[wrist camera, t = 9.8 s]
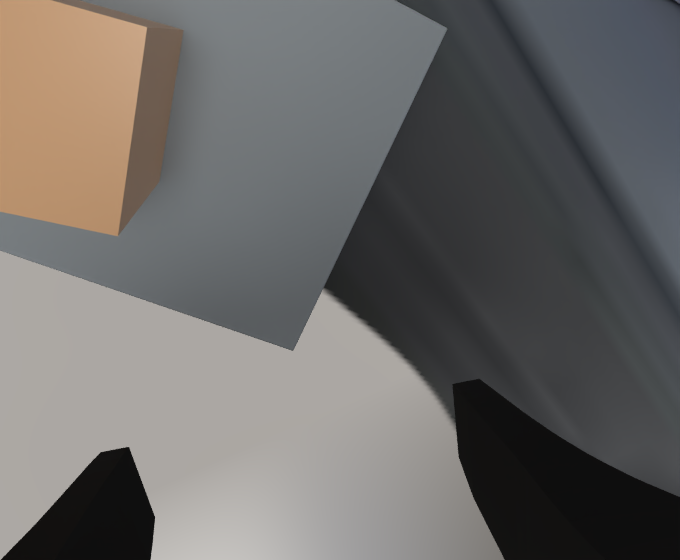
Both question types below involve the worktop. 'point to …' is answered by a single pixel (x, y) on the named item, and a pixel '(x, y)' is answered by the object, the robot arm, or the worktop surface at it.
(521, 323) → the worktop surface
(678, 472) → the worktop surface
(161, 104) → the tan wooden cube
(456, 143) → the worktop surface
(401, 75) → the board
